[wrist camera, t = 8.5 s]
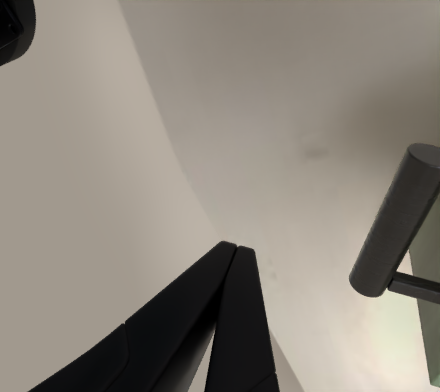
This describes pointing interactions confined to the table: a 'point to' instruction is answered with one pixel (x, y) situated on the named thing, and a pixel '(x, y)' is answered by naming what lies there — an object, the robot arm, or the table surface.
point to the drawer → (408, 245)
